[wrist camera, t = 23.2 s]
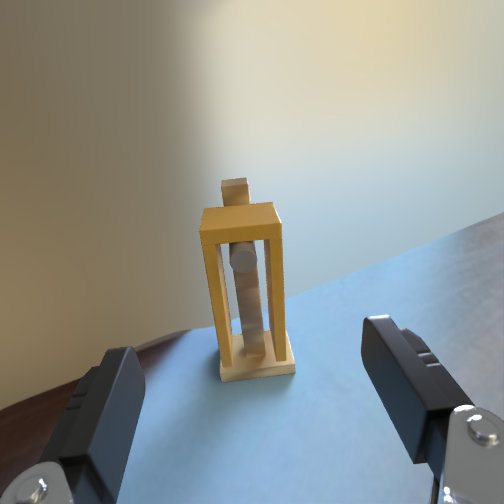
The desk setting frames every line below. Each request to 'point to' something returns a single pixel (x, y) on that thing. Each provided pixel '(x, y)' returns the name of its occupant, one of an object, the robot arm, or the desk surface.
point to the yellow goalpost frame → (270, 230)
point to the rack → (249, 306)
